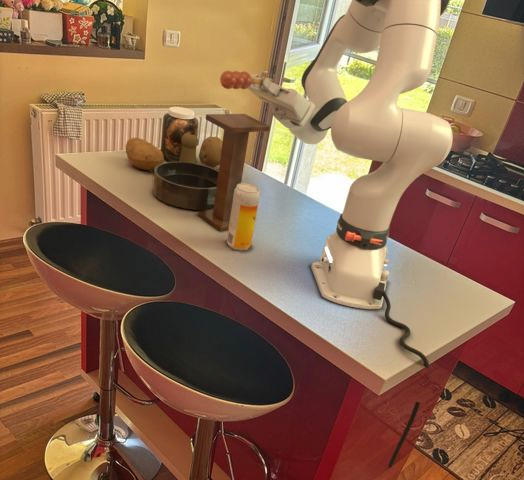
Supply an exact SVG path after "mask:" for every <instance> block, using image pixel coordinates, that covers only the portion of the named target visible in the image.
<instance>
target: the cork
mask: <svg viewBox="0 0 524 480" xmlns="http://www.w3.org/2000/svg"><path fill="white" fill-rule="evenodd" d="M181 142H182V145H183V146H182V150H181V155H180V159H179V162H191V163H197V148H198V147H197V146H198V144H199V137H198V138H197V137H196V136H195V135H192V134H184V135H183V136H182V138H181Z"/></svg>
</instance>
